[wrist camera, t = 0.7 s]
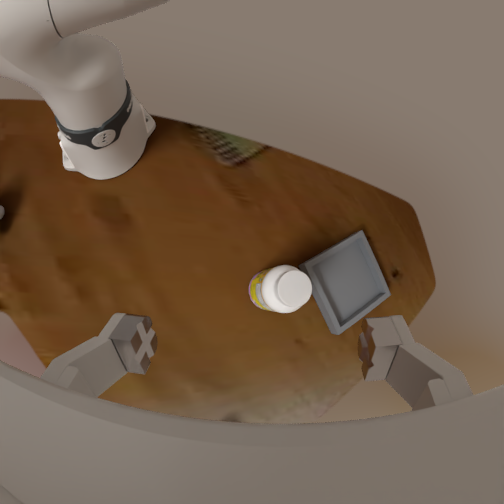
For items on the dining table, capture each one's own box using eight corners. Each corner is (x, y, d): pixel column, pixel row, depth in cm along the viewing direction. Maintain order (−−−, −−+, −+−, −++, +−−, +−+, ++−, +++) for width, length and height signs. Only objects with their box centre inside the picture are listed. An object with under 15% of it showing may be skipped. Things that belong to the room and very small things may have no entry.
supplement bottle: (282, 267, 49) (315, 258, 37) (288, 305, 48) (323, 309, 36) (244, 273, 47) (266, 266, 35) (250, 312, 47) (274, 319, 34)
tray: (298, 265, 50) (304, 264, 47) (354, 232, 54) (362, 230, 51) (331, 333, 49) (338, 334, 47) (382, 294, 53) (390, 294, 51)
